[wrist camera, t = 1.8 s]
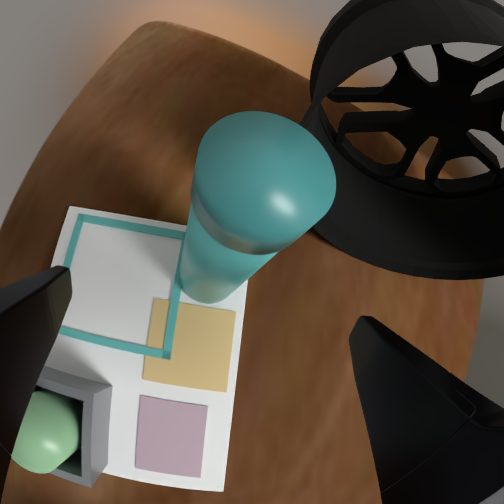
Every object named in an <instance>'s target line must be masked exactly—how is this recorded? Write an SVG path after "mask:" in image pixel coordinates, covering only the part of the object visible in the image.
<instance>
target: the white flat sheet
mask: <svg viewBox="0 0 504 504" xmlns="http://www.w3.org/2000/svg"><path fill="white" fill-rule="evenodd" d="M186 228H187V226H185V225H179V224H174V223H168V222H162V221H157V220H151V219H145V218H139V217H134V216H128V215H122V214H116V213H110V212H104V211H98V210H92V209H86V208H80V207H74V206H70V207H69V209H68V212H67V215H66V218H65V221H64V224H63V227H62V230H61V233H60V237H59V240H58V243H57V246H56V250H55V253H54V257H53V261H52V264H51V267H54V266H56V265H60V266H64V267H68V268H69V269H70V271H71V281H72V298H71V301H70V304H69V306H68V309H67V311H66V314H65V317H64V319H63V322H62V325H61V328H60V330H59V333H58V336H57V338H56V341H55V343H54V345H53V347H52V349H51V352H50V354H49V356H48V358H47V360H46V363H45V365H44V366H47V367H50V368H53V369H56V370H59V371H62V372H65V373H69V374H72V375H75V376H79V377H82V378H86V379H89V380H93V381H96V382H100V383H104V384H108V385H112V386H113V388H112V398H111V410H110V424H109V443H108V464H107V466H106V467H105V469H104V470H103V471H102V472H103V473H107V474H111V475H115V476H119V477H123V478H127V479H132V480H136V481H141V482H146V483H152V484H158V485H164V486H171V487H178V488H186V489H195V490H206V491H221V492H223V489H224V481H225V472H226V463H227V455H228V446H229V437H230V429H231V420H232V412H233V403H234V394H235V386H236V377H237V369H238V360H239V351H240V343H241V334H242V326H243V317H244V308H245V300H246V291H247V283H248V279H247V280H246V281H245V282H244V283H243V284H242V285H241V286H239V287H238V288H237V289H236V290H235V291H234V292H233V293H231V294H230V295H229V296H228V297H227V298H226V299H224V300H222V301H220V302H218V303H213V304H205V303H200V302H198V301H195V300H194V299H192V298H191V297H189V296H188V295H187V294H186V292H185V291H184V290H183V288H182V286H181V283H180V279H179V270H180V263H181V257H182V251H183V245H184V239H185V234H186ZM45 389H46V388H43V387H41V390H45ZM77 400H78V399H77ZM78 401H79V402H80V403H81V404H82V406H83V403H84V401H82V400H78ZM79 449H82V446H81V447H80V448H79Z"/></svg>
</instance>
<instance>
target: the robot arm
mask: <svg viewBox="0 0 504 504" xmlns="http://www.w3.org/2000/svg"><path fill="white" fill-rule="evenodd" d="M71 298H72V281H71V271H70V269H69V268H68V267H64V266H60V265H56V266H54V267H51V268H49V269H46V270H44V271H41V272H39V273H36V274H34V275H31V276H29V277H26V278H24V279H21V280H19V281H17V282H14V283H12V284H10V285H7V286H5V287H2V288H0V503H1V498H2V493H3V489H4V484H5V480H6V476H7V472H8V468H9V464H10V460H11V457H12V456H11V455H12V452H13V449H14V446H15V442H16V439H17V436H18V433H19V430H20V427H21V424H22V421H23V418H24V415H25V412H26V410H27V407H28V404H29V402H30V399H31V396H32V394H33V391H34V389H35V386H36V384H37V381H38V379H39V377H40V374H41V372H42V369H43V367H44V365H45V363H46V360H47V358H48V356H49V354H50V352H51V349H52V347H53V345H54V343H55V341H56V338H57V336H58V333H59V330H60V328H61V325H62V322H63V319H64V317H65V314H66V311H67V309H68V306H69V304H70V301H71ZM349 345H350V351H351V357H352V364H353V370H354V376H355V382H356V386H357V390H358V394H359V398H360V402H361V406H362V410H363V414H364V418H365V422H366V426H367V431H368V435H369V439H370V444H371V448H372V453H373V458H374V462H375V467H376V472H377V477H378V482H379V487H380V492H381V493H380V494H381V499H382V504H504V408H502V407H501V406H499V405H497V404H496V403H494V402H493V401H491V400H490V399H488V398H486V397H485V396H483V395H482V394H480V393H479V392H477V391H476V390H474V389H473V388H471V387H470V386H468V385H467V384H465V383H464V382H463V381H461V380H460V379H458V378H457V377H456V376H454V375H453V374H452V373H449V371H447V370H446V369H445V368H443V367H442V366H441V365H439V364H438V363H436V362H435V361H434V360H432V359H431V358H429V357H428V356H427V355H425V354H424V353H423V352H421V351H420V350H418V349H417V348H416V347H414V346H413V345H411V344H410V343H409V342H407V341H406V340H404V339H403V338H402V337H400V336H399V335H397V334H396V333H395V332H393V331H392V330H390V329H389V328H388V327H386V326H385V325H383V324H382V323H381V322H379V321H378V320H376V319H375V318H374V317H371V316H360V317H359V318H358V320H357V322H356V324H355V326H354V328H353V330H352V332H351V334H350V336H349Z"/></svg>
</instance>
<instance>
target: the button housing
mask: <svg viewBox="0 0 504 504" xmlns="http://www.w3.org/2000/svg"><path fill="white" fill-rule="evenodd" d="M41 387H43V388H46V389H48V390H51V391H54V392H57V393H60V394H63V395H66V396H69V397H72V398H75V399H78V400H82V401H84V403H83V419H82V449H77V450H76V451H75V452H74V453H73V454H72V455H71V456H69V457H68V458H67V459H66V460H65V461H64V462H62V463H61V464H60V465H59V466H58V467H57V468H56V469H54V470H53V471H51V472H49V473H50V474H53V475H56V476H58V477H61V478H64V479H66V480H69V481H72V482H75V483H78V484H81V485H84V486H87V487H92V486H93V485H94V483H95V482H96V480H97V479H98V477H99V476H100V474H101V473H102V471H103V470H104V469H105V467H106V466H107V464H108V443H109V424H110V410H111V398H112V388H113V386H112V385H108V384H104V383H100V382H96V381H93V380H89V379H86V378H82V377H79V376H75V375H72V374H69V373H65V372H62V371H59V370H56V369H53V368H50V367H47V366H44V367H43V369H42V372H41V374H40V377H39V379H38V381H37V384H36V386H35V389H34V391H33V392H35V391H40V390H41Z"/></svg>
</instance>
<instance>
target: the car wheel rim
mask: <svg viewBox="0 0 504 504" xmlns="http://www.w3.org/2000/svg"><path fill="white" fill-rule="evenodd" d="M451 42H472V43H482V44H490V45H498V46H503V47H501V48H499V49H497V50H496V51H494V52H492V53H491V54H489V55H487V56H485V57H484V58H482V59H480V60H479V61H475V62H471V61H467V60H464V59H460V58H457V57H454V56H452V55H450V54H447V52H446V51H445V50H444V48H443V45H442V43H451ZM424 45H431V46H432V49H433V51H434V54H435V56H436V61H437V67H438V80H437V81H436V82H429V81H427V80H426V79H424V78H423V77H422V76H421V75H420V74H419V73H418V72H417V71H416V70H415V69H413V68H412V66H411V64H410V62H409V60H408V58H407V57H406V55H405V53H404V51H405V50H407V49H410V48H412V47H417V46H424ZM390 56H391V57H392V59H393V60H394V62H395V64H396V66H397V70H396V72H395V75H394V76H393V78H392V79H391V80H390V81H389V83H387V84H386V85H384V86H383V87H366V88H361V87H337V86H339V85H340V84H341V83H342V82H344V81H345V80H346V79H347V78H349V77H350V76H351V75H353V74H354V73H355V72H357V71H358V70H360V69H362V68H364V67H366V66H368V65H371V64H373V63H375V62H378V61H380V60H382V59H385V58H387V57H390ZM503 68H504V7H503V6H502V5H500V4H499V3H497V2H496V1H494V0H350V1H349V2H348V3H347V4H346V5H345V6H344V7H343V8H342V9H341V10H340V11H339V12H338V13H337V14H336V15H335V16H334V17H333V18H332V19H331V21H330V23H329V24H328V26H327V28H326V29H325V31H324V33H323V34H322V36H321V38H320V41H319V44H318V47H317V51H316V54H315V58H314V60H313V64H312V69H311V75H310V96H311V103H312V104H311V105H310V107H309V109H308V110H307V112H306V114H305V116H304V118H303V119H302V121H301V123H300V126H302V127H303V128H304V129H306V130H307V131H308V132H309V133H311V134H312V135H313V136H314V137H315V138H316V139H317V140H318V141H319V143H320V144H321V145H322V146H323V148H324V149H325V151H326V152H327V154H328V156H329V158H330V160H331V162H332V165H333V167H334V171H335V176H336V192H335V197H334V200H333V203H332V205H331V207H330V209H329V210H328V212H327V213H326V214H325V215H324V216H323V217H322V218H321V219H320V220H319V221H318V222H317V223H316V224H314V225H313V227H314V228H315V229H316V231H317V232H318V233H319V234H320V235H321V236H323V237H324V238H325V239H327V240H328V241H329V242H331V243H332V244H333V245H335V246H336V247H337V248H339V249H341V250H343V251H344V252H346V253H348V254H350V255H352V256H353V257H355V258H357V259H360V260H362V261H365V262H367V263H369V264H372V265H374V266H377V267H381V268H384V269H387V270H390V271H393V272H398V273H402V274H407V275H411V276H417V277H424V278H432V279H446V280H469V279H483V278H490V277H497V276H503V275H504V167H503V168H502V169H501V168H500V165H499V162H498V159H497V156H496V155H495V154H494V153H492V152H491V151H490V150H489V149H488V148H487V147H486V146H485V145H484V144H483V143H481V142H480V141H479V140H478V139H477V138H476V137H474V136H473V135H472V134H471V133H470V132H468V130H470V129H476V130H481V131H486V132H488V133H489V134H491V135H492V136H493V137H495V138H496V139H497V140H498V141H499V142H500V143H501V144H502V145H504V131H503V130H502V129H501V122H502V115H503V111H504V81H501V82H499V83H497V84H495V85H493V86H490V87H488V88H486V89H485V90H483V91H482V92H481V93H479V94H475V95H472V96H470V95H471V94H472V92H473V90H474V89H475V87H476V85H477V84H478V82H479V81H481V80H483V79H485V78H486V77H488V76H490V75H492V74H494V73H495V72H497V71H499V70H501V69H503ZM326 96H327V97H328V98H329V99H330V100H332V101H334V102H337V103H345V102H382V103H384V102H385V103H395V104H399V105H402V106H405V107H409V108H412V109H409V110H405V111H400V112H399V111H368V112H350V113H345V114H344V116H343V117H342V119H341V121H340V123H339V128H338V133H336V131H335V130H334V128H333V127H332V125H331V124H330V123H329V120H328V118H327V116H326V114H325V112H324V109H323V107H322V105H321V101H322V100H323V99H324V98H325V97H326ZM385 131H387V132H388V133H390V134H391V135H392V136H394V137H395V138H397V139H398V140H399V141H400V142H401V143H402V144H403V145H404V147H405V148H406V149H407V150H406V152H405V154H404V156H403V158H402V160H401V161H400V162H399V163H396V164H388V165H383V164H380V163H377V162H375V161H374V160H372V159H370V158H369V157H367V156H366V155H364V154H363V153H362V152H360V151H359V150H358V149H356V148H355V147H354V146H352V144H351V143H350V142H349V141H348V140H347V138H346V137H345V136H344V135H345V134H346V133H352V132H385ZM430 136H434V137H437V138H438V139H439V140H438V142H437V144H436V147H435V149H434V151H433V153H432V155H431V157H430V160H429V162H428V164H427V166H426V168H425V180H421V179H417V178H413V177H409V176H404V174H405V173H406V171H407V169H408V167H409V165H410V164H411V162H412V160H413V158H414V156H415V154H416V152H417V151H418V149H419V147H420V146H421V145H422V144H423V143H424V142H425V141H426V140H427V139H428V138H429V137H430ZM464 156H474V157H476V158H478V159H479V160H480V161H481V162H482V163H483V164H485V165H486V166H487V167H488V168H489V169H490V171H489V172H487V173H484V174H480V175H477V176H473V177H470V178H461V179H439V178H438V175H439V173H440V171H441V169H442V168H443V166H444V164H445V163H446V161H448V160H451V159H455V158H459V157H464Z"/></svg>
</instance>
